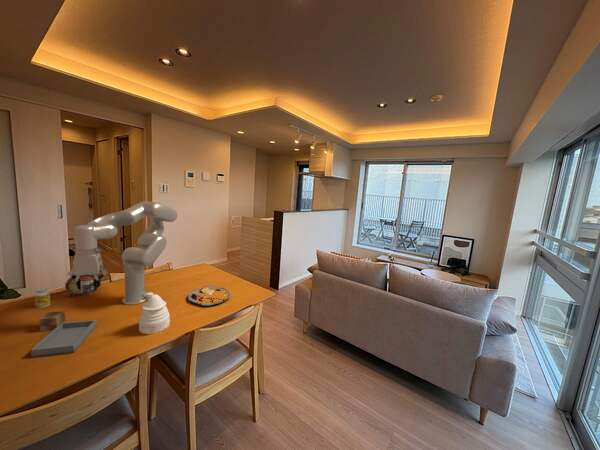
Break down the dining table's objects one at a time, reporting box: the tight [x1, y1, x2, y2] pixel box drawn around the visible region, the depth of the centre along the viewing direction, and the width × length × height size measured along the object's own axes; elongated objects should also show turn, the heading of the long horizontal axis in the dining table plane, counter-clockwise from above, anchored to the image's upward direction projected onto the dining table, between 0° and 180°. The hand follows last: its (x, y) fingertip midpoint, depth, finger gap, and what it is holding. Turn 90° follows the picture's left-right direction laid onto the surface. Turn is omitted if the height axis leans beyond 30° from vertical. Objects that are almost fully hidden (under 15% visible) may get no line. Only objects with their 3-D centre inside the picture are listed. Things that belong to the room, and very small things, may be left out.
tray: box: [30, 319, 98, 358], centre depth 102 cm, size 13×19×3 cm
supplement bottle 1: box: [34, 286, 51, 309], centre depth 126 cm, size 5×5×10 cm
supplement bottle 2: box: [80, 275, 98, 296], centre depth 114 cm, size 6×6×11 cm
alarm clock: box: [64, 277, 82, 298], centre depth 140 cm, size 11×5×16 cm, turn 144°
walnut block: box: [38, 310, 66, 332], centre depth 110 cm, size 6×6×6 cm
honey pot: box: [138, 292, 171, 334], centre depth 115 cm, size 13×13×18 cm
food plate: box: [187, 285, 232, 306], centre depth 150 cm, size 25×23×4 cm
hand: (89, 287), depth 115 cm, fingers closed on supplement bottle 2, 6 cm apart
